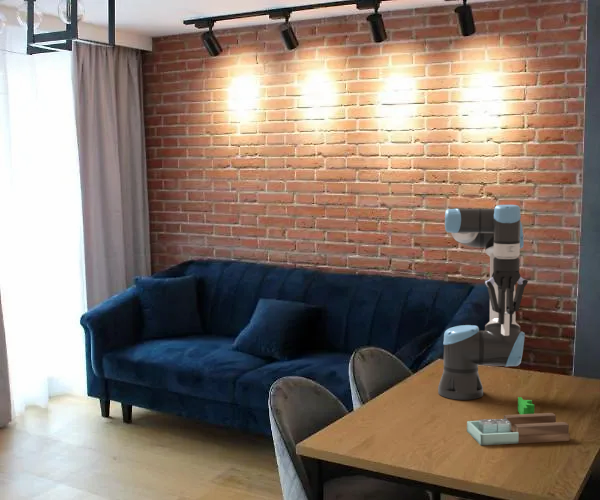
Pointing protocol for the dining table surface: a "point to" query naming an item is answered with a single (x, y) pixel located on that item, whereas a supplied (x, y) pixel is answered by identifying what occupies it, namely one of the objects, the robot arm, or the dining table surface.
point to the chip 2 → (503, 425)
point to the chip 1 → (487, 426)
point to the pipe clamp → (525, 406)
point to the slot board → (538, 427)
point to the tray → (491, 435)
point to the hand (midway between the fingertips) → (505, 334)
